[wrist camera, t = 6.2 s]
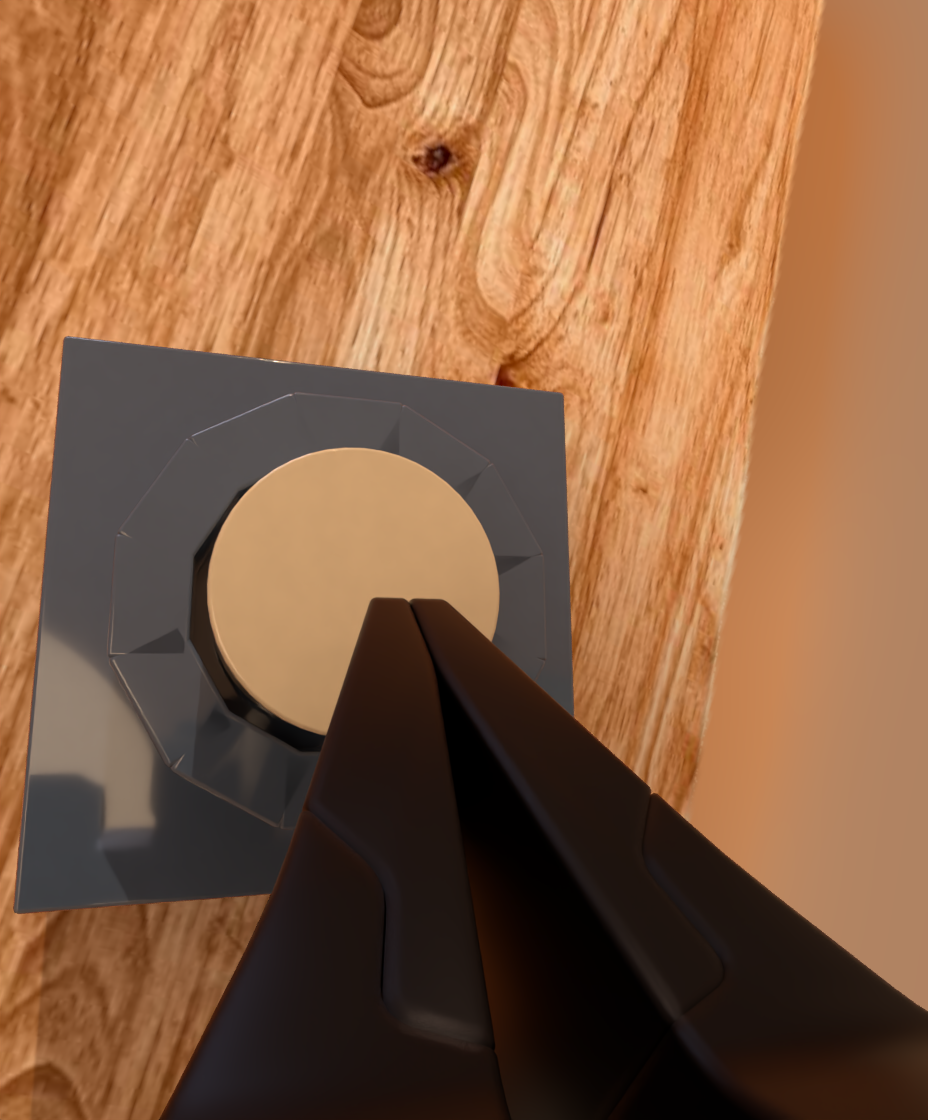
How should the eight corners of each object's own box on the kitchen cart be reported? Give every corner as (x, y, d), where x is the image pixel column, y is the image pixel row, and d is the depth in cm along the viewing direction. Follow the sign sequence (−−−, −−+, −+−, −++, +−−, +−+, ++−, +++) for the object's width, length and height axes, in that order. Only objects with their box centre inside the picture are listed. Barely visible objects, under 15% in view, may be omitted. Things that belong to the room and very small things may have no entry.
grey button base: (494, 830, 20) (625, 892, 14) (70, 855, 17) (-22, 949, 11) (488, 460, 22) (602, 357, 15) (103, 427, 19) (41, 283, 13)
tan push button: (464, 731, 14) (504, 736, 12) (202, 736, 13) (199, 743, 11) (461, 490, 15) (499, 457, 13) (215, 472, 13) (214, 433, 11)
